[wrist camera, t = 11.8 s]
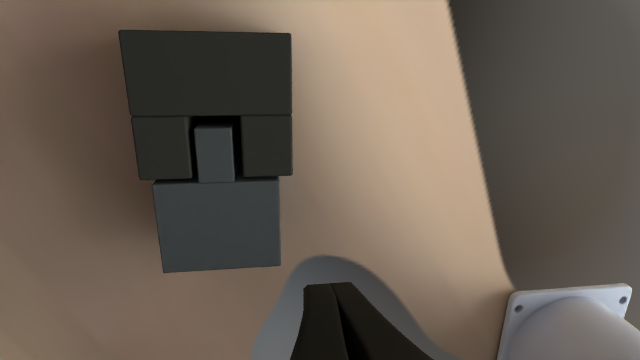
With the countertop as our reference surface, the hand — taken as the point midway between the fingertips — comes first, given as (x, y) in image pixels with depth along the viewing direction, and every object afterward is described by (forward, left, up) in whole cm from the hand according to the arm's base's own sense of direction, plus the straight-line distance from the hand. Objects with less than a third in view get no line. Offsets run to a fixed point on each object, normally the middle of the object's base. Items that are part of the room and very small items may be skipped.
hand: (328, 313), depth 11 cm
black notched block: (+5, +4, -9) cm, 11 cm away
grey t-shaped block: (+1, +4, -9) cm, 10 cm away
